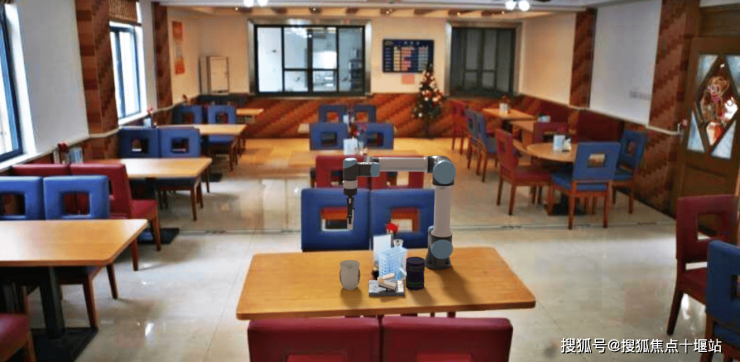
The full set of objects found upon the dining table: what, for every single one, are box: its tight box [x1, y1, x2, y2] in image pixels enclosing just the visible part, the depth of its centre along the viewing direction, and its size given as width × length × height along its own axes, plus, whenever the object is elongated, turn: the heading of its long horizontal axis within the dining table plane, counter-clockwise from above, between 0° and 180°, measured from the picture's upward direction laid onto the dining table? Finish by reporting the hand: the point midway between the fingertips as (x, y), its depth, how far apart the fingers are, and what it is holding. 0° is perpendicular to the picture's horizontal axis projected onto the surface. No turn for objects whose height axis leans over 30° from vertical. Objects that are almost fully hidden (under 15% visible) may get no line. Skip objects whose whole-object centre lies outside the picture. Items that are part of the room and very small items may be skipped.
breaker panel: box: [368, 279, 406, 297], centre depth 295 cm, size 18×15×4 cm
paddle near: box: [377, 278, 396, 290], centre depth 291 cm, size 9×4×2 cm, turn 91°
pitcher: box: [338, 259, 361, 291], centre depth 298 cm, size 11×18×14 cm, turn 1°
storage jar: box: [405, 256, 426, 292], centre depth 298 cm, size 10×10×15 cm
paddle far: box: [377, 272, 396, 281], centre depth 298 cm, size 9×4×2 cm, turn 89°
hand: (350, 225), depth 309 cm, fingers open, 13 cm apart
